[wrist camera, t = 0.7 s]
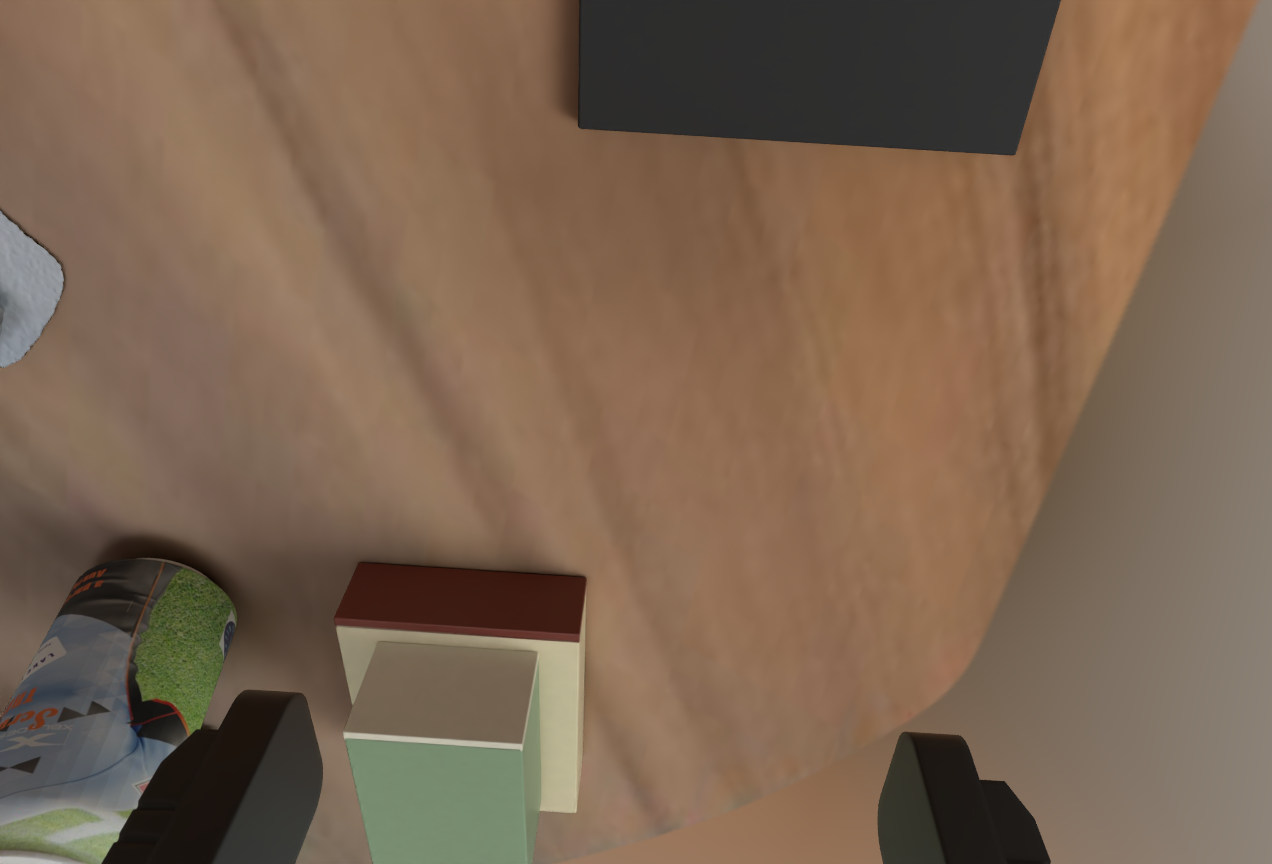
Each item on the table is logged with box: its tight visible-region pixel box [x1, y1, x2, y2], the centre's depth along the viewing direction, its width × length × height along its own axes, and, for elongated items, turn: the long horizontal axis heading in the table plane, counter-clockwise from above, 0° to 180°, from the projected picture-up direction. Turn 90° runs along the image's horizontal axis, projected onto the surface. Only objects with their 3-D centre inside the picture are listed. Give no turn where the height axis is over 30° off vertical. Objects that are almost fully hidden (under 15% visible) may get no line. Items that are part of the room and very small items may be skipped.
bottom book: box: [334, 563, 587, 813], centre depth 36 cm, size 11×9×3 cm
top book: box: [343, 642, 542, 864], centre depth 33 cm, size 9×6×4 cm, turn 177°
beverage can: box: [0, 558, 237, 864], centre depth 30 cm, size 6×7×12 cm
